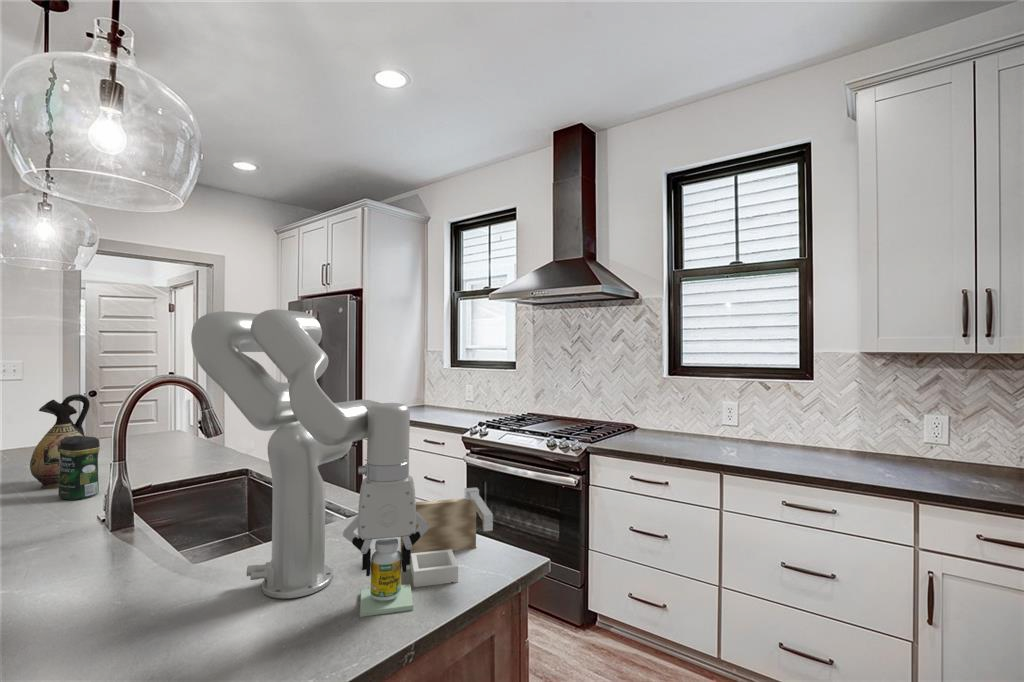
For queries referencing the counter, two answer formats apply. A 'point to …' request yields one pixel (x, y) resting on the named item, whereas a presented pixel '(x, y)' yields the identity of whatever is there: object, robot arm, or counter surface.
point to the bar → (480, 507)
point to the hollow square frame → (433, 568)
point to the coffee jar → (78, 467)
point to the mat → (386, 602)
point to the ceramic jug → (56, 440)
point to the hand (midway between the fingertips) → (386, 569)
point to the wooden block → (446, 526)
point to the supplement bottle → (386, 570)
